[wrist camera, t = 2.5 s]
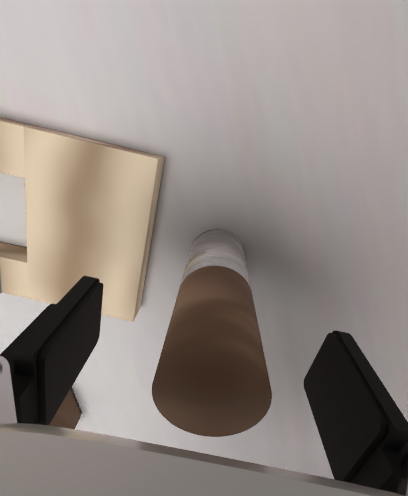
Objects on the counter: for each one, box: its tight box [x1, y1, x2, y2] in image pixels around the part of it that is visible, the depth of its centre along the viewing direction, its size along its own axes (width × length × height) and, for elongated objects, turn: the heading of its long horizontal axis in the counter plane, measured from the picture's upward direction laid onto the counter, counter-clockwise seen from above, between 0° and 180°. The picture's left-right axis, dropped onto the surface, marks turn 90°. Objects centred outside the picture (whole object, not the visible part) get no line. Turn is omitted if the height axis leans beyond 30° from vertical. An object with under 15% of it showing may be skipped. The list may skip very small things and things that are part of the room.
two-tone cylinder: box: [152, 230, 272, 437], centre depth 15 cm, size 4×4×12 cm
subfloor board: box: [0, 118, 165, 321], centre depth 19 cm, size 16×12×2 cm
